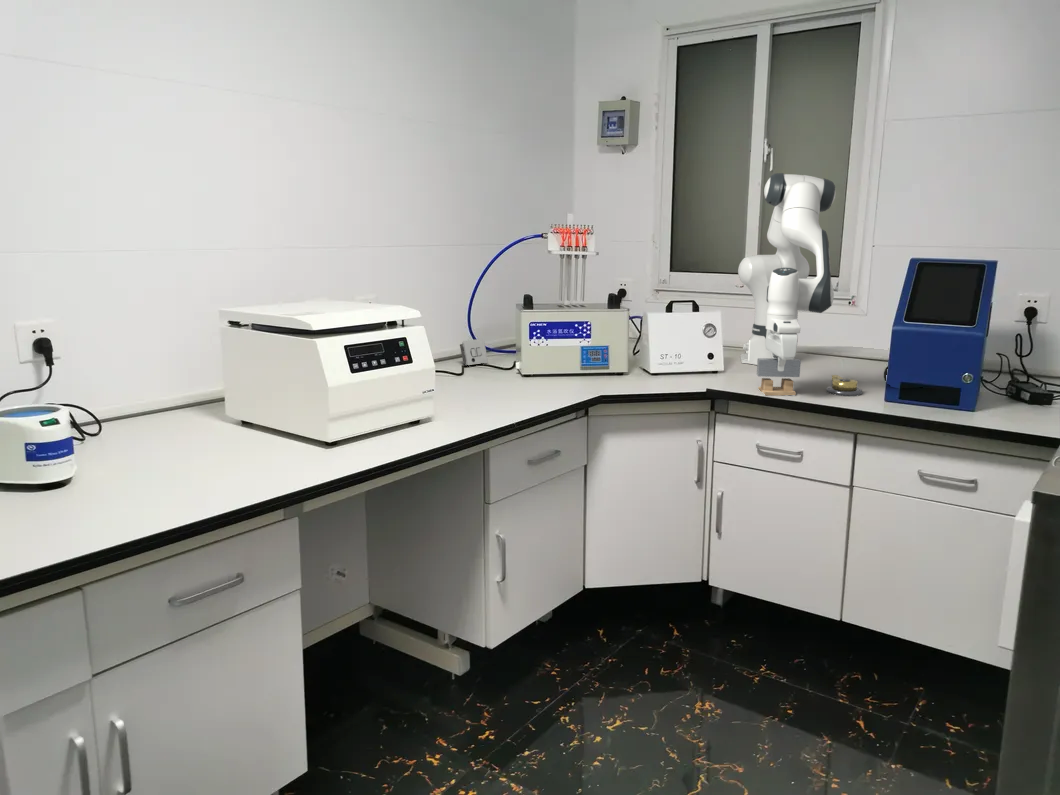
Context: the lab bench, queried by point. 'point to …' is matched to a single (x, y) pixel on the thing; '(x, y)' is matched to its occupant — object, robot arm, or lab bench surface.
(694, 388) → the lab bench surface
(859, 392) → the nut base
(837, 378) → the gold curved piece
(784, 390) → the rack
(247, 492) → the lab bench surface
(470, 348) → the electrical switch
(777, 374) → the bar
